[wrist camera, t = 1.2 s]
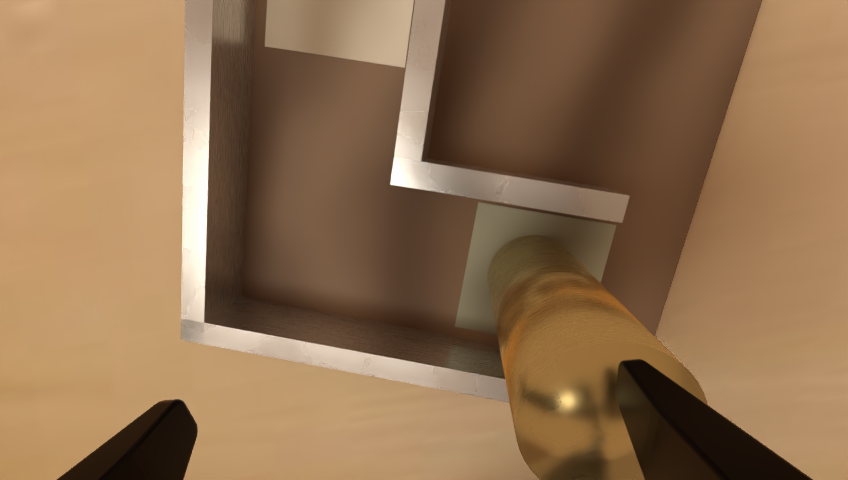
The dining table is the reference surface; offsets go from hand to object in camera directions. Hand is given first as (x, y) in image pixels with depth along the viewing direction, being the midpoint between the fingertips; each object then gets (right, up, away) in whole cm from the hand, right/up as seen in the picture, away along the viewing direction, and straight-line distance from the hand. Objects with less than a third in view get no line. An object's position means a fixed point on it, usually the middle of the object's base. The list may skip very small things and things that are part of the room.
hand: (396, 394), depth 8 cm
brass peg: (+5, +1, +10) cm, 12 cm away
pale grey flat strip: (+1, +7, +10) cm, 13 cm away
